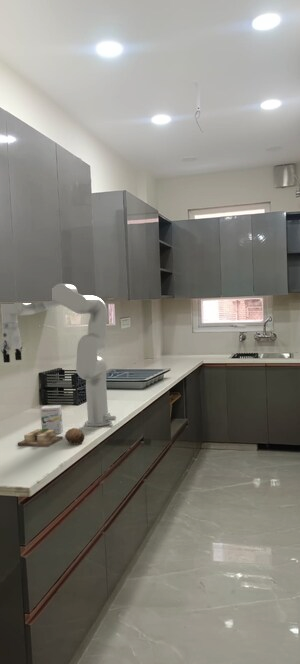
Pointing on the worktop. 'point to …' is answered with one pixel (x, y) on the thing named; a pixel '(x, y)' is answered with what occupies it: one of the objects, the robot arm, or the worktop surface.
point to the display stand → (40, 438)
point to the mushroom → (74, 436)
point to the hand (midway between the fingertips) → (12, 361)
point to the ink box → (52, 418)
